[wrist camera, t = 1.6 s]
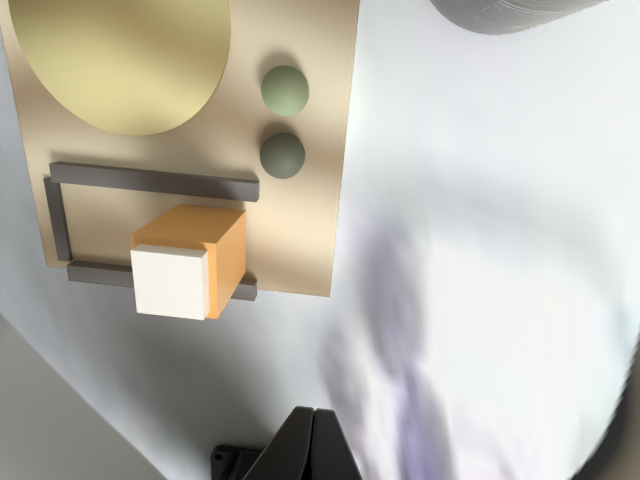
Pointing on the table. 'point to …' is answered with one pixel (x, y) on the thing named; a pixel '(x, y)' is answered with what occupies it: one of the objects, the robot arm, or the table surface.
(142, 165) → the panel
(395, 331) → the table surface
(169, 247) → the orange rectangular block
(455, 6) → the supplement bottle
